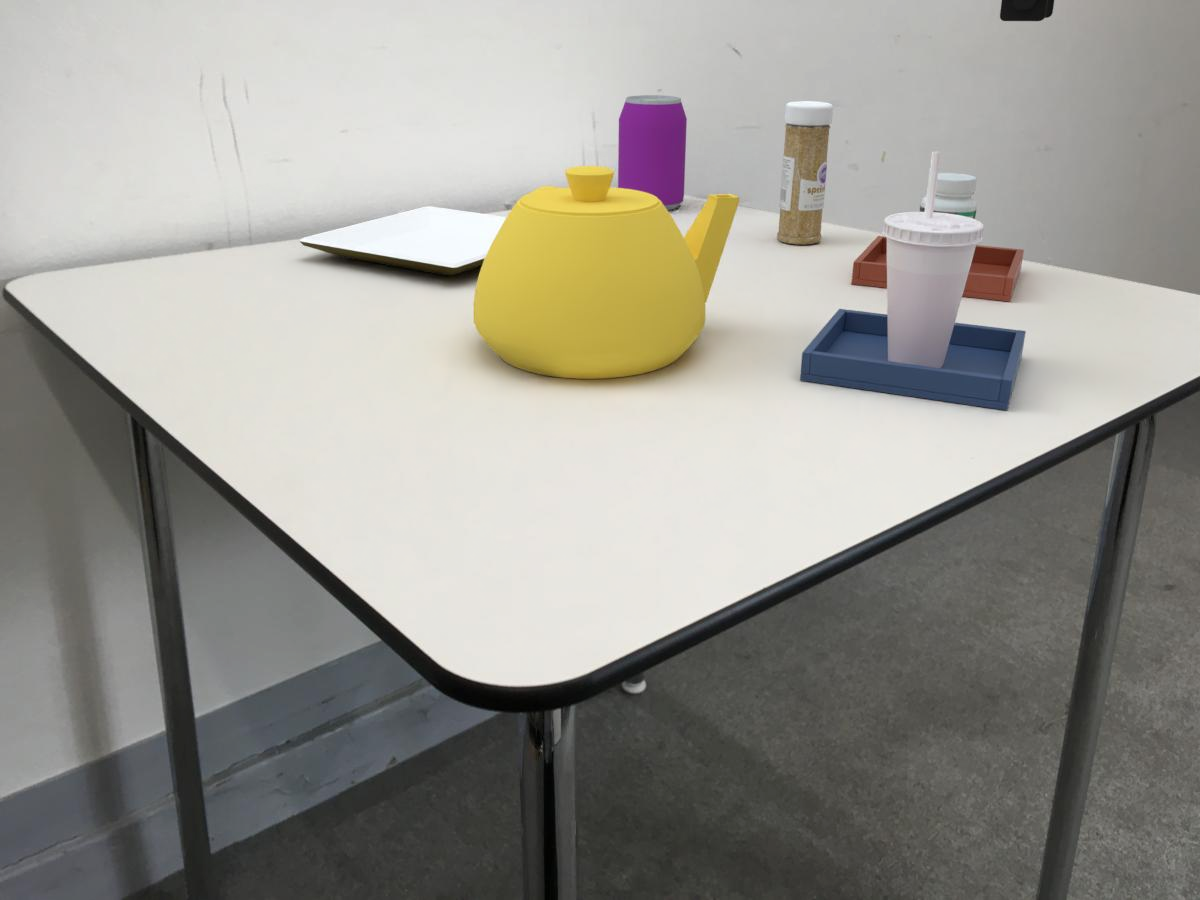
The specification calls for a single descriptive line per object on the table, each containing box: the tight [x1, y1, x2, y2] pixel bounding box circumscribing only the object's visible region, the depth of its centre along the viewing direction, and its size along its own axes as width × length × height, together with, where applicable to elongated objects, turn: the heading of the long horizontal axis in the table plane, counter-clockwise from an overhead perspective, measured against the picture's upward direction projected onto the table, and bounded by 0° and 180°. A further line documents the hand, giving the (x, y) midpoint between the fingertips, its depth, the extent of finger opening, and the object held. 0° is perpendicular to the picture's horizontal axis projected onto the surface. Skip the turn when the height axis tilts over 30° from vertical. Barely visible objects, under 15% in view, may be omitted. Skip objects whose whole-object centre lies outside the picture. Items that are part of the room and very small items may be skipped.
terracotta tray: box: [850, 235, 1025, 302], centre depth 97 cm, size 13×11×2 cm
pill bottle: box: [918, 172, 977, 219], centre depth 96 cm, size 5×5×8 cm
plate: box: [298, 205, 507, 277], centre depth 105 cm, size 19×19×2 cm
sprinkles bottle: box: [776, 100, 834, 246], centre depth 108 cm, size 5×5×13 cm
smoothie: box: [881, 150, 985, 368], centre depth 72 cm, size 6×6×14 cm
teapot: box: [473, 165, 741, 380], centre depth 78 cm, size 20×19×13 cm
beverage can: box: [617, 94, 688, 211], centre depth 124 cm, size 8×8×12 cm
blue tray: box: [799, 308, 1027, 411], centre depth 75 cm, size 13×11×2 cm
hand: (1026, 19), depth 86 cm, fingers open, 9 cm apart
